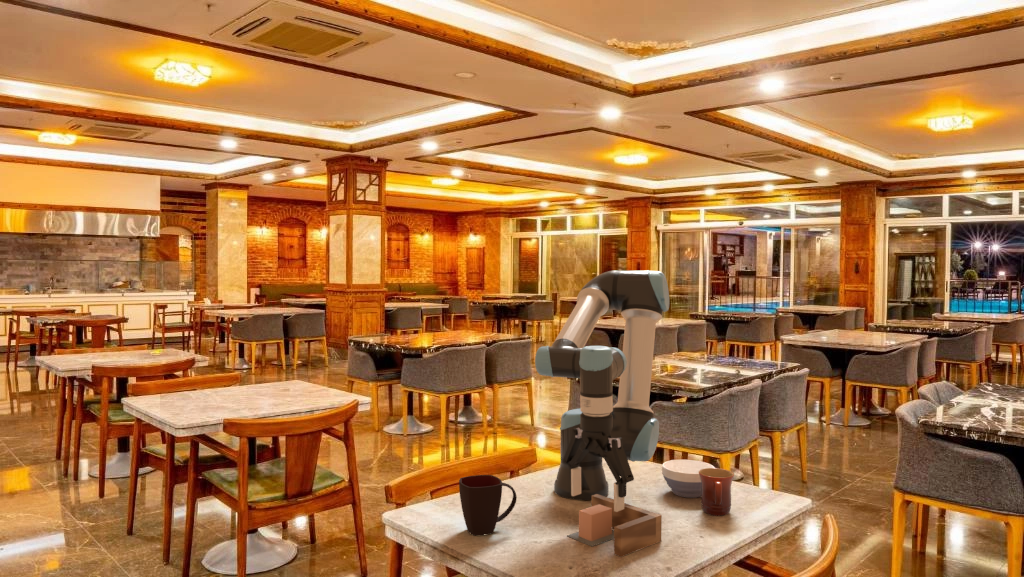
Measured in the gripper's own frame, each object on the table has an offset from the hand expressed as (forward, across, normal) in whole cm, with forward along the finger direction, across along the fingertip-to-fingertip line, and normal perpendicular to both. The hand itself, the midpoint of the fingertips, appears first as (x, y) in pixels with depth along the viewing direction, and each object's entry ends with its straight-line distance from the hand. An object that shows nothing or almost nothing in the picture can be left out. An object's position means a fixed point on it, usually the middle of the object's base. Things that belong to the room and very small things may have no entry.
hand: (597, 502), depth 167 cm
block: (+7, +1, -1) cm, 7 cm away
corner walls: (+8, +3, +1) cm, 8 cm away
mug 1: (+7, -18, -18) cm, 27 cm away
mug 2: (+9, +10, +33) cm, 36 cm away
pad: (+8, 0, -1) cm, 8 cm away
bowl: (+9, -4, +42) cm, 43 cm away
